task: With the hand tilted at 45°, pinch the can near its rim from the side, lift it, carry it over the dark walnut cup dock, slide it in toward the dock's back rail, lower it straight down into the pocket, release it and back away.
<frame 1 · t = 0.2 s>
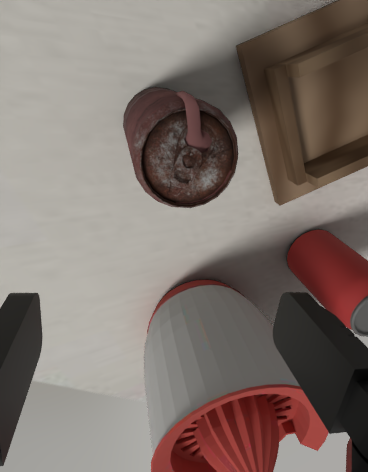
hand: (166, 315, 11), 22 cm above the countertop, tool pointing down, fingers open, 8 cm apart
citrus juicer: (200, 316, 42), on the countertop
dock: (322, 104, 32), on the countertop
can: (156, 121, 29), on the countertop
beer can: (308, 250, 40), on the countertop
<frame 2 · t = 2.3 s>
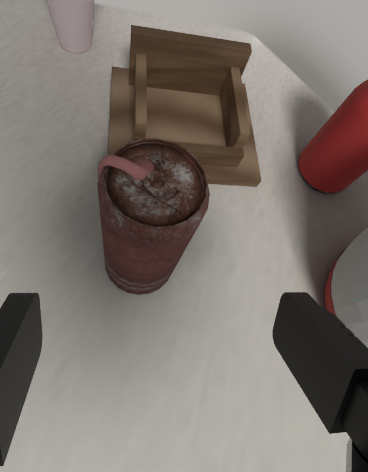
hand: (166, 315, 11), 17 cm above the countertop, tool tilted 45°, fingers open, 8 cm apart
smoothie: (75, 43, 38), on the countertop
dock: (182, 129, 36), on the countertop
can: (137, 263, 29), on the countertop
beer can: (320, 172, 38), on the countertop
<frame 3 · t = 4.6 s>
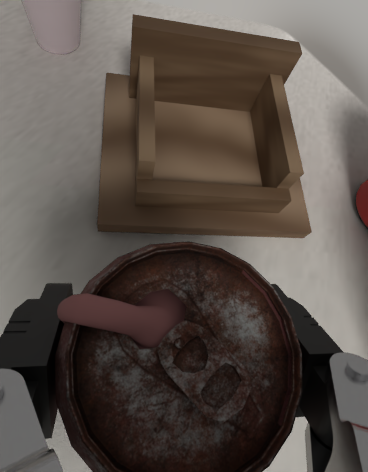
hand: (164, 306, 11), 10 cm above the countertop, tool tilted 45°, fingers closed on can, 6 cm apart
smoothie: (58, 41, 29), on the countertop
dock: (201, 158, 27), on the countertop
can: (141, 364, 20), on the countertop, touching gripper
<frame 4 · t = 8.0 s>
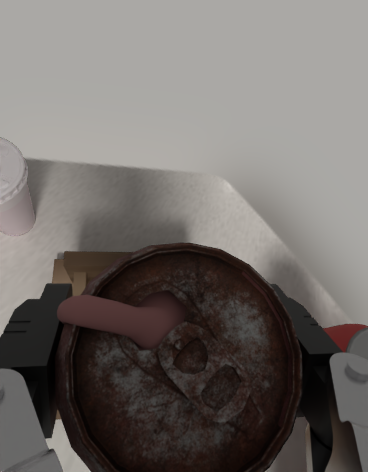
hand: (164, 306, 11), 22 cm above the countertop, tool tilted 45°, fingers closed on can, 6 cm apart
smoothie: (16, 220, 34), on the countertop
dock: (135, 331, 31), on the countertop
can: (141, 365, 20), point 11 cm above the countertop, touching gripper
beer can: (295, 368, 33), on the countertop
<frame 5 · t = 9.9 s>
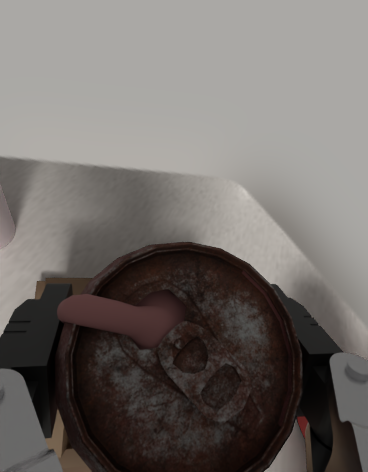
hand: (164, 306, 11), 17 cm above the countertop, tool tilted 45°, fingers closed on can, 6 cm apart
dock: (134, 369, 26), on the countertop
can: (141, 365, 20), point 7 cm above the countertop, touching gripper
when the fingers open (12 cm above the countertop, at t = 11.6 s): can stays where it is, resting on dock.
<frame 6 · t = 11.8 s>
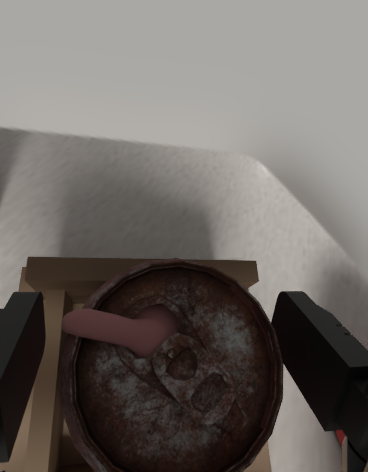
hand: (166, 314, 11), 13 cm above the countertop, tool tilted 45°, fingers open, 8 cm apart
dock: (140, 373, 21), on the countertop
can: (140, 367, 21), point 1 cm above the countertop, touching dock
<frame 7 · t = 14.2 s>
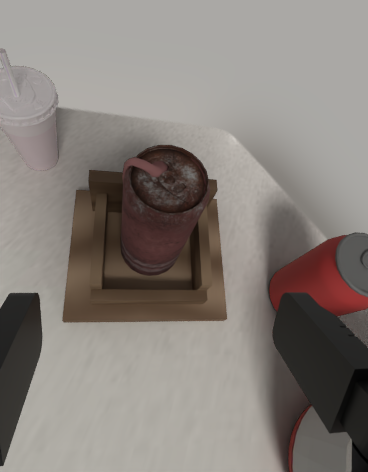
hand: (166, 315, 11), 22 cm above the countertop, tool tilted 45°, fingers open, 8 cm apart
citrus juicer: (347, 457, 31), on the countertop
smoothie: (41, 158, 37), on the countertop
dock: (148, 255, 35), on the countertop
can: (148, 249, 34), point 1 cm above the countertop, touching dock
beer can: (292, 296, 37), on the countertop
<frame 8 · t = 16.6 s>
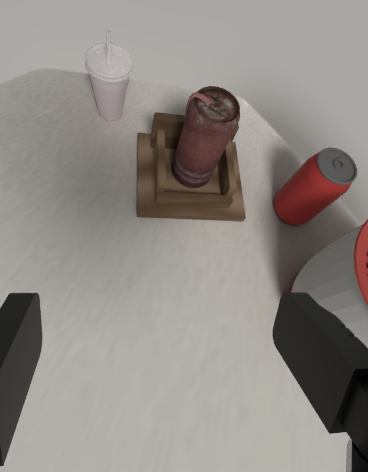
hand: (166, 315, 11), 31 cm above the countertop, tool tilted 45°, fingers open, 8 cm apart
citrus juicer: (327, 307, 46), on the countertop
smoothie: (110, 112, 52), on the countertop
dock: (189, 178, 50), on the countertop
can: (189, 173, 49), point 1 cm above the countertop, touching dock
beer can: (290, 209, 52), on the countertop
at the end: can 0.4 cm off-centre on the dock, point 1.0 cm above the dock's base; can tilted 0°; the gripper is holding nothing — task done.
